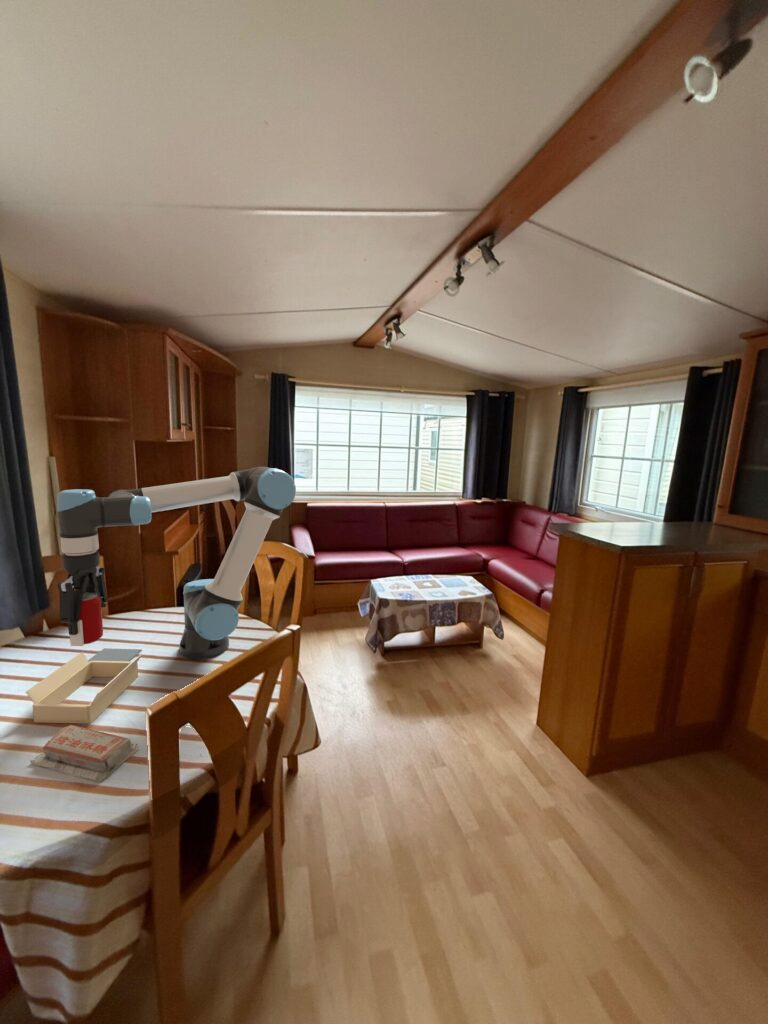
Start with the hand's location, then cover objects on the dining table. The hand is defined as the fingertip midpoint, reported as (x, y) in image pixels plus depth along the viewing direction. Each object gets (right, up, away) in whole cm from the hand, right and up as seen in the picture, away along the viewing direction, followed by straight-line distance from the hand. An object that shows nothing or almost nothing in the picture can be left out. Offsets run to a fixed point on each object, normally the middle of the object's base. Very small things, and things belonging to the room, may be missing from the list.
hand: (87, 638), depth 105 cm
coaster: (-8, -13, +21) cm, 26 cm away
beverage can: (0, -1, 0) cm, 1 cm away
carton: (-1, -16, +3) cm, 17 cm away
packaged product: (+12, -21, -17) cm, 30 cm away
